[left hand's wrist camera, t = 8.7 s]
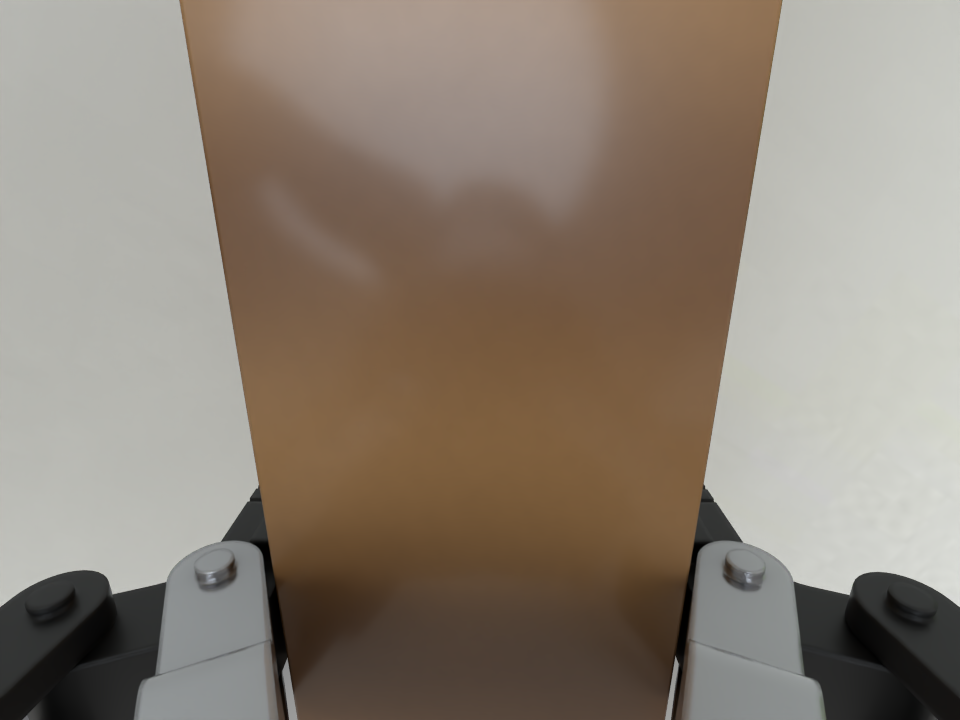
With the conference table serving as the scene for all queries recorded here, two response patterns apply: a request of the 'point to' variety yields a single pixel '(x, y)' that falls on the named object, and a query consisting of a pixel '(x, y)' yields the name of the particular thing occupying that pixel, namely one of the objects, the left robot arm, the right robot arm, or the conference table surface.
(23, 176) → the conference table surface
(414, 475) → the bar
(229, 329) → the conference table surface
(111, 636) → the left robot arm
